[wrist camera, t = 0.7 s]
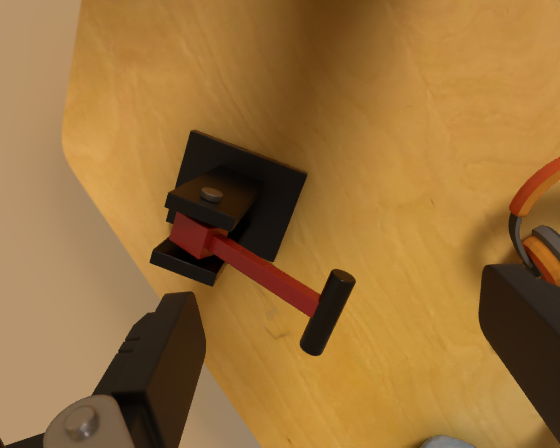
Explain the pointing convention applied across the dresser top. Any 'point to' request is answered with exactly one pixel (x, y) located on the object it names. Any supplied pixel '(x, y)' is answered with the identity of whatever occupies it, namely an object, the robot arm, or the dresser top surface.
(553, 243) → the headphones
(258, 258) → the switch lever
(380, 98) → the dresser top surface
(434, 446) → the egg
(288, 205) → the switch bracket
